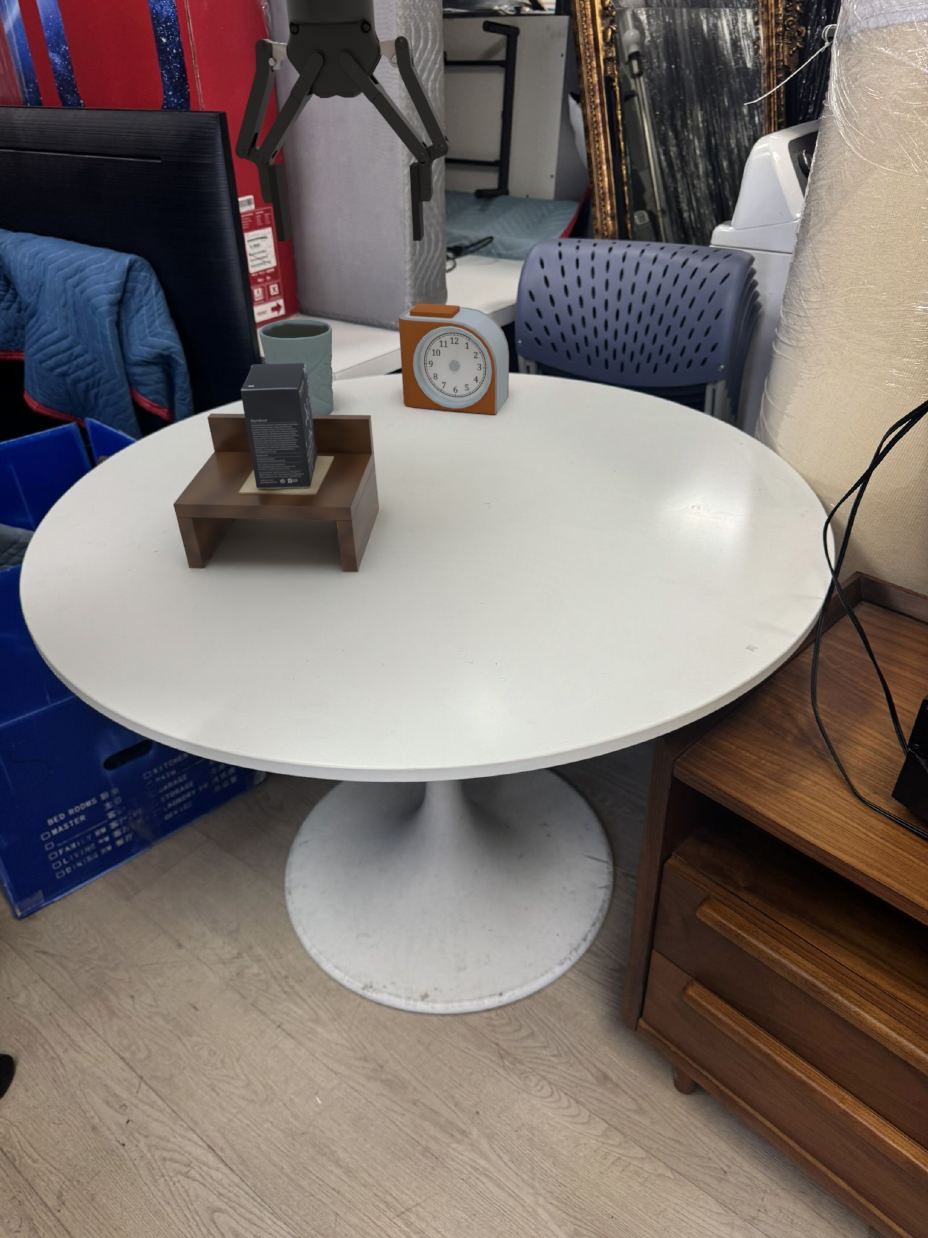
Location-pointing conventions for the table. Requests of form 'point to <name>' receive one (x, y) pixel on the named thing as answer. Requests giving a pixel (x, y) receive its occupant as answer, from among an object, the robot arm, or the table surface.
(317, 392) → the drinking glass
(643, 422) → the table surface
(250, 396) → the box
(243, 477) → the shelf
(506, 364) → the alarm clock
